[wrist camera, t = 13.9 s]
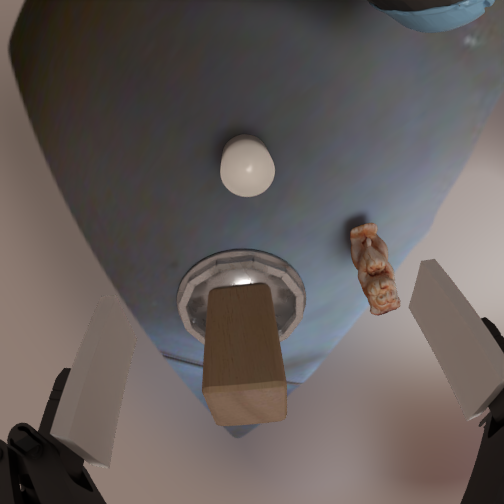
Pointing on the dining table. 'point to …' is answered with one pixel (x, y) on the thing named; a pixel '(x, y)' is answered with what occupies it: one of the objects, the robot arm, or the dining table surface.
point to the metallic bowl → (241, 274)
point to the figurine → (374, 269)
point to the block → (243, 357)
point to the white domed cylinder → (246, 166)
